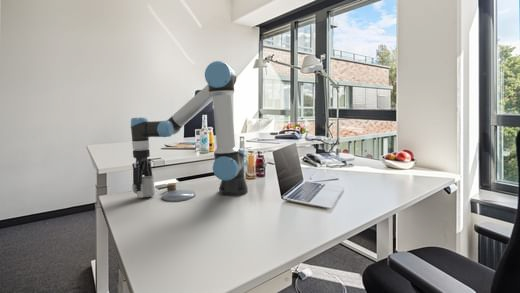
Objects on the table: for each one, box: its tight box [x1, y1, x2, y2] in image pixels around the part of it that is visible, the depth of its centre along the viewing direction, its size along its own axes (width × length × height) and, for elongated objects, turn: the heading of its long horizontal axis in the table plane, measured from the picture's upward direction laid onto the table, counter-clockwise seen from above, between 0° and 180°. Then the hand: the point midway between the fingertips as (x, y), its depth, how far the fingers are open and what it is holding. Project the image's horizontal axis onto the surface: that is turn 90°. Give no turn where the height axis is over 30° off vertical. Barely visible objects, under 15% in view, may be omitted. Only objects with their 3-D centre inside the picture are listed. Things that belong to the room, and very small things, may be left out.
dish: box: [161, 189, 196, 202], centre depth 143 cm, size 16×16×1 cm
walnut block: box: [166, 182, 177, 192], centre depth 151 cm, size 4×4×4 cm
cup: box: [131, 175, 156, 198], centre depth 140 cm, size 7×10×9 cm
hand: (144, 194), depth 141 cm, fingers closed on cup, 7 cm apart
